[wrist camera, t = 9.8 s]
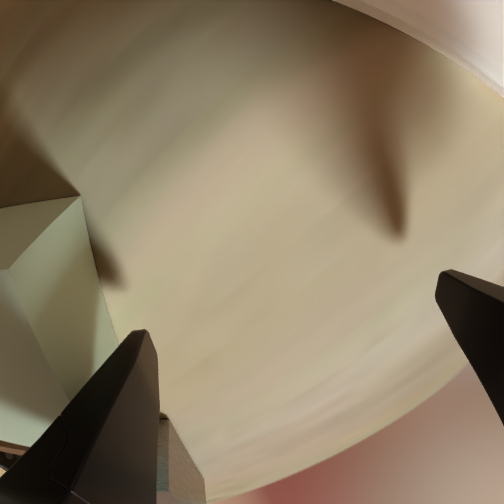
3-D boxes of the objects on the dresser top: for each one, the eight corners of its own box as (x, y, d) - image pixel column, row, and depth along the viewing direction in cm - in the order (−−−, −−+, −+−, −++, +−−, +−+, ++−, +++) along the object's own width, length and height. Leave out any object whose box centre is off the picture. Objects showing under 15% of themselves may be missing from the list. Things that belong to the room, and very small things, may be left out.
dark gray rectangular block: (106, 422, 12) (96, 488, 9) (169, 419, 12) (168, 491, 9) (155, 481, 15) (155, 531, 12) (204, 479, 15) (209, 530, 12)
